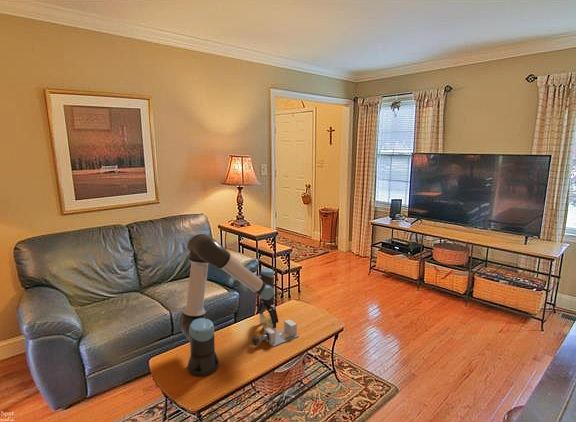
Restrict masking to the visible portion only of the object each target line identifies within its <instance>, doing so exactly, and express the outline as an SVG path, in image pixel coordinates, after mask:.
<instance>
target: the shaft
mask: <svg viewBox="0 0 576 422" xmlns="http://www.w3.org/2000/svg"><path fill="white" fill-rule="evenodd" d="M267 339H269V334H268V333H267V334H265V335H264V334H262V335H260V336H253V337H252V339H251V341H252V344H253V346H255V347H256V346H258V345H259V343H262V342H266V341H265V340H267Z"/></svg>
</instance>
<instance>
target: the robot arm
mask: <svg viewBox="0 0 576 422" xmlns="http://www.w3.org/2000/svg"><path fill="white" fill-rule="evenodd" d="M186 247H187V249H188V250H187V251H189V252H188V253H189V254H188V261H189V262H190V272H189V279H188V290H187V297H186V305H185V306H186V307H185V308H183V309H182V311H181V312H182V314H180V315H179V317H178V321H177V322H178V326H179V330H180V331H181V332H182V333H183V335H184V336H185V338H186V339H187V340H188V342H189V343H190V344H189V346H190V347H189V348H190V355H189V360H188V362H187V371H188V374H190V375H192V376H194V377H207V376H209V375H211V374H214V373H215V372H216V371H218V369H219V366H220V363H219V362H220V360H219V357H218V354H217V353H216V350H215V348H216V347H215V345H216V344H215V343H216V342H215V325H214V323H213V321H212V320H210V319H208V318H206V309H205V308H204V302H205V297H206V296H205V293H206V288H207V287H206V285H207V280H208V270H209V265H211V266H213V267H214V268H216V269H218V270H222V271H224V272H225V273H226V274H228V275H229V276H231V277H232V278H234V279H235V280H236V281H238V282H240V284H241V287H242V289H243V291H244V292H250V291H251V292H253V293H254V294H255V295H257V296H259V297H260V298H259V304H258V307H257V312H258V313H259V324H260V325H263V317H265V311H267V312H268V315H269V316H270V317H271V320H272V323H271V329H272V330H273V331H275V332H277V323H279V319H278V318H279V317H278V313H277V308H276V307H277V306H276V305H273V302H274V301H275V297H274V296H275V295H274V294H275V290H274V287H275V286H274V285H275V280H274V279H275V278H274V277H275V275H274V270H273V269H271V268H267V267H266V268H263V269H261V270H260V273H259V274H254V273H253V272H252V271H250V269H248V268H247V267H246V266H245V265H243V264H241V263H240V262H239V261H237V260H236V259H235V258H234V257H232V254H231V252H229V251H228V250H227V249H226V248H225V247H223V246H222V245H221V243H219V242H218V241H217V240H216V239H214V238H212V237H210V235H208V234H206V233H201V232H197V233H195V234H192V235H191V236H190V237H189V239H188V241H187V246H186Z"/></svg>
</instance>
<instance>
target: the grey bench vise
mask: <svg viewBox="0 0 576 422" xmlns="http://www.w3.org/2000/svg"><path fill="white" fill-rule="evenodd" d="M283 326H284V327H283V329H280V330H276V332H275V331H273V330H272V329H271V328H269V327H267V328H263V330H264V331H263V332H264V334H263V335H265V334H267V333H268V334H269V339H267V340H265V341H264V342H266V343H268V344H269V345H270V346H271V347H272V348H275V347H277V346H279V345H282V344H285V343H287V342H289V341H292V340H293V339H296V338H299V334H297V333H298V328H297V327H298V324H297V322H295V321H293V320H292V319H287V320H284V322H283Z"/></svg>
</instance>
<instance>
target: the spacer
mask: <svg viewBox="0 0 576 422" xmlns="http://www.w3.org/2000/svg"><path fill="white" fill-rule="evenodd" d="M271 323H272V320H271V317H270V314H268V315H264V317H263V324H262V328H263V329H264V328H267V327H269V328H271Z"/></svg>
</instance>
